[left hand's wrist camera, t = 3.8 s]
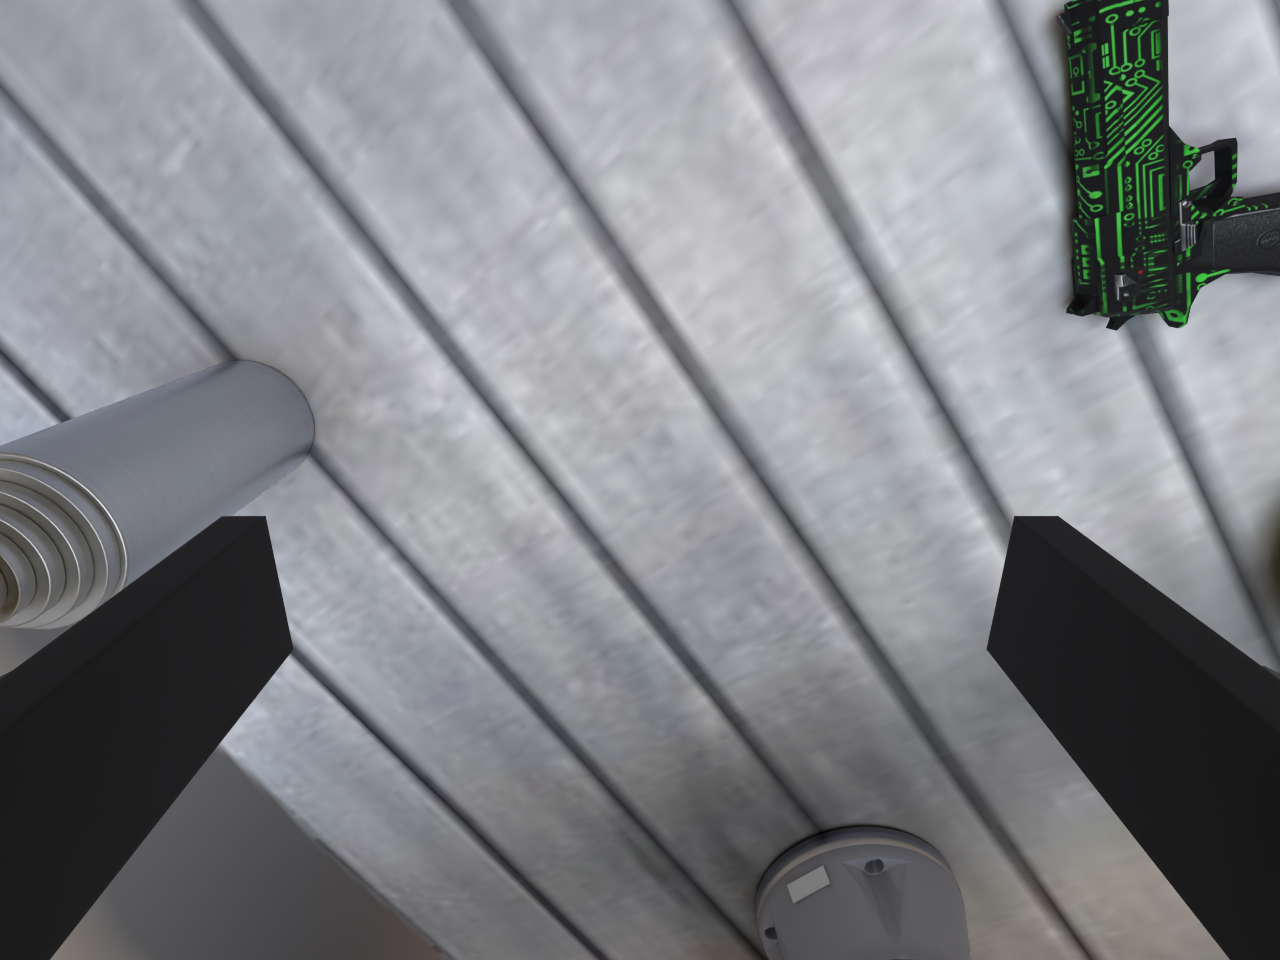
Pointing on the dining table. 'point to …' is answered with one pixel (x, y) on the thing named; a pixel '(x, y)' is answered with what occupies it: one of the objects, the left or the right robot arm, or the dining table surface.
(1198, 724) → the left robot arm
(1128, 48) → the handgun
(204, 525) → the bottle
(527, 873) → the dining table surface
